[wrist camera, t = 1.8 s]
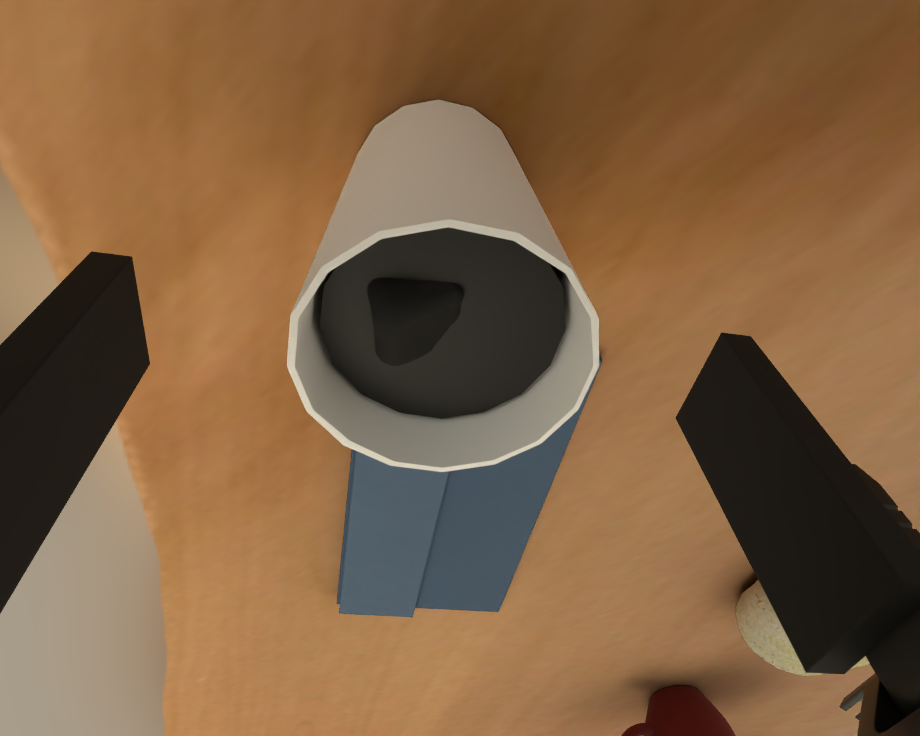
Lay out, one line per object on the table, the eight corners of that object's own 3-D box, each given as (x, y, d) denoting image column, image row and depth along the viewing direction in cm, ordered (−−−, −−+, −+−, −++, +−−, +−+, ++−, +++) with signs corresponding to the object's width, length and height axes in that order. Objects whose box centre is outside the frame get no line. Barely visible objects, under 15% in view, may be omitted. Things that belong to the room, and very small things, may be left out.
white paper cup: (347, 272, 22) (306, 473, 14) (330, 81, 18) (259, 216, 10) (522, 274, 23) (574, 470, 15) (544, 87, 19) (632, 221, 11)
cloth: (364, 324, 24) (362, 341, 23) (599, 352, 25) (606, 369, 24) (337, 595, 36) (335, 613, 35) (497, 603, 37) (499, 621, 36)
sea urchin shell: (882, 642, 39) (843, 746, 35) (759, 574, 43) (711, 658, 39) (939, 563, 33) (902, 675, 29) (791, 494, 38) (740, 582, 33)
